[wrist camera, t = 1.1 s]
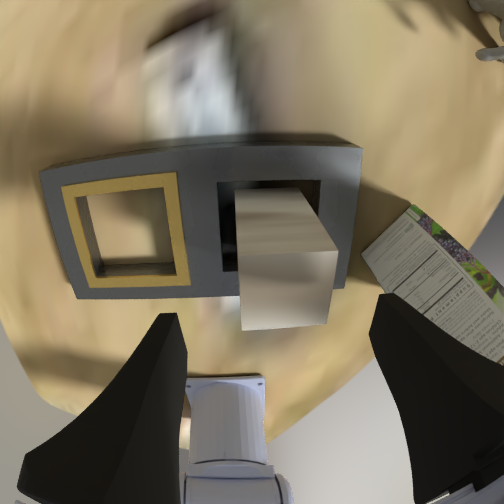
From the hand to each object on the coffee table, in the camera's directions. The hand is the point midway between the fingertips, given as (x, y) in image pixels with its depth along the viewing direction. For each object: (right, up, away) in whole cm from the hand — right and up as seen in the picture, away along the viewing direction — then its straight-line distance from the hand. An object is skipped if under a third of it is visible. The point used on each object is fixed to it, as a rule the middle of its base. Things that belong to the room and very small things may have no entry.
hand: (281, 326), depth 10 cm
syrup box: (+11, +3, +12) cm, 16 cm away
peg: (0, +5, +9) cm, 10 cm away
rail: (-5, +5, +9) cm, 11 cm away
